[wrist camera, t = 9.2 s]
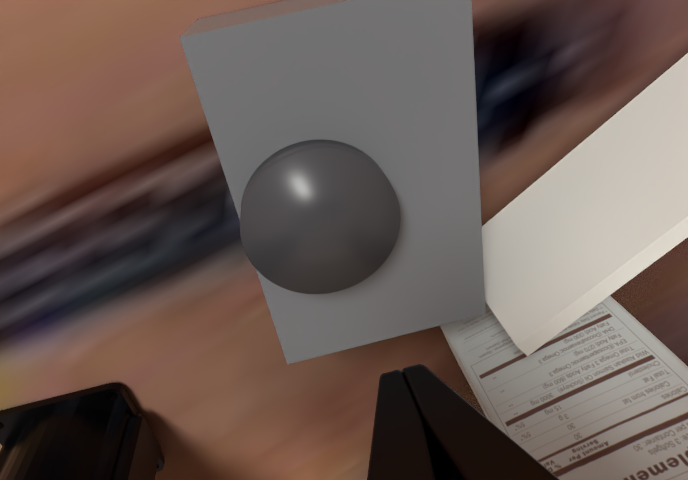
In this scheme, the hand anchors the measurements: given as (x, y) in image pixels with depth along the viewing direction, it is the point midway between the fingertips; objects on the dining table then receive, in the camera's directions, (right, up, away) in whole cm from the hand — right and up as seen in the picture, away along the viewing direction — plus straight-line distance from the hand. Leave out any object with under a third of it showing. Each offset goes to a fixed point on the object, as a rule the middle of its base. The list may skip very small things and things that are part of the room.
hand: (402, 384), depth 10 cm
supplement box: (+8, -2, +18) cm, 20 cm away
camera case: (-1, +6, +11) cm, 13 cm away
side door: (+10, +7, +13) cm, 17 cm away
